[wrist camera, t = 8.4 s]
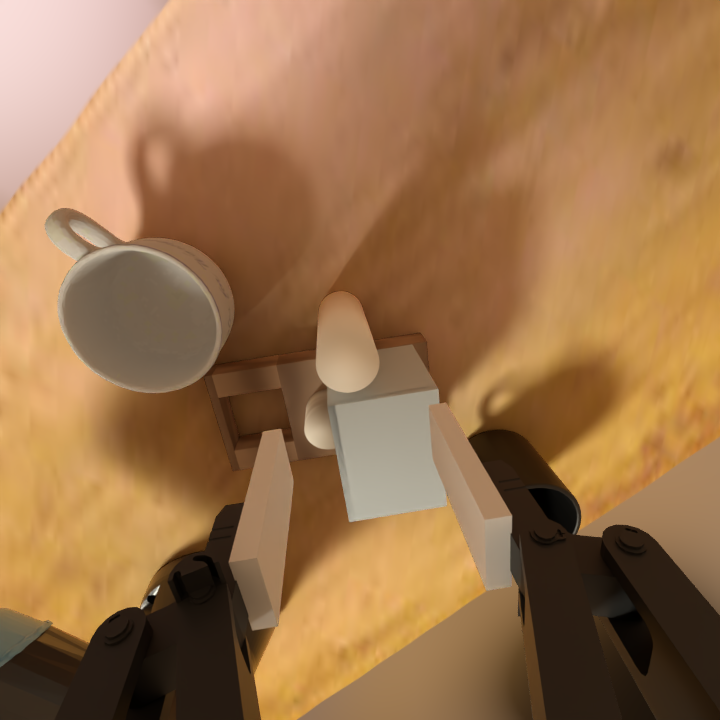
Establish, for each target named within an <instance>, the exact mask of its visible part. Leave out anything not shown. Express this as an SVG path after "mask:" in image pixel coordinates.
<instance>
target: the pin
mask: <svg viewBox="0 0 720 720" xmlns="http://www.w3.org/2000/svg"><path fill="white" fill-rule="evenodd" d="M379 363H380V362H379V355H378V352H377V349H376V346H375V343H374V340H373V337H372V334H371V331H370V328H369V325H368V323H367V320H366V317H365V314H364V311H363V308H362V305H361V303H360V301H359V300H358V299H357V297H355V296H354V295H353V294H351V293H349V292H345V291H337V292H333V293H331V294H329V295H327V296H326V297H325V298H324V299H323V300H322V302H321V304H320V306H319V311H318V329H317V348H316V370H317V373H318V376H319V378H320V379H321V381H322V382H323V383H324V384H325V385H326V386H328V387H329V388H331V389H333V390H335V391H338V392H344V393H350V392H356V391H359V390H361V389H363V388H365V387H367V386H368V385H369V384H370V383H371V382H372V381H373V380H374V378H375V377H376V375H377V373H378V370H379Z"/></svg>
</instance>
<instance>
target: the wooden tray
mask: <svg viewBox="0 0 720 720" xmlns="http://www.w3.org/2000/svg"><path fill="white" fill-rule="evenodd" d="M374 343H375V346H376V349H377V350H379V349H386V348H392V347H398V346H405V345H411V344H412V345H413V346H414V348H415V350H416V352H417V353H418V355H419V357H420V358H421V360H422V362H423V363H424V365H425V367H426V369H427V370H428V372H429V366H428V353H427V342H426V340H425V339H424V337H423V336H422V334H421V333H416V334H409V335H403V336H397V337H390V338H384V339H377V340H374ZM204 380H205V383H206V386H207V389H208V393H209V396H210V399H211V402H212V405H213V409H214V412H215V415H216V418H217V422H218V425H219V428H220V431H221V434H222V438H223V441H224V444H225V447H226V451H227V454H228V457H229V460H230V463H231V467H232V470H233V471H237V470H243V469H250V468H254V464H255V460H256V456H257V452H258V449H259V445H260V441H261V437H262V433H257V434H251V435H244V436H239V433H238V429H237V426H236V422H235V419H234V415H233V412H232V409H231V405H230V402H229V398H228V396H234V395H240V394H246V393H253V392H259V391H265V390H271V389H278V388H282V392H283V396H284V401H285V405H286V409H287V414H288V418H289V422H290V426H291V428H288V429H282V434H283V438H284V443H285V447H286V451H287V455H288V459H289V462H293V461H299V460H305V459H311V458H317V457H323V456H330V455H336V450H335V444H334V439H333V434H332V429H331V423H330V418H329V413H328V407H327V386H326V385H325V384H324V383H323V382H322V381H321V379H320V378H319V376H318V373H317V370H316V349H313V350H307V351H301V352H294V353H288V354H282V355H275V356H269V357H262V358H256V359H250V360H243V361H237V362H230V363H224V364H218V365H213V366H212V367H211V369H210V370H209V371H208V372H207V373H206V374H205V375H204Z"/></svg>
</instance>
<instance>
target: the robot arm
mask: <svg viewBox="0 0 720 720" xmlns="http://www.w3.org/2000/svg"><path fill="white" fill-rule="evenodd" d="M428 408H429V420H430V433H431V445H432V457H433V461H434V464H435V466H436V468H437V471H438V473H439V476H440V478H441V481H442V483H443V486H444V488H445V490H446V493H447V495H448V498H449V500H450V503H451V505H452V508H453V510H454V513H455V515H456V517H457V520H458V522H459V525H460V527H461V530H462V532H463V535H464V537H465V539H466V542H467V544H468V547H469V549H470V552H471V554H472V557H473V559H474V562H475V564H476V566H477V569H478V571H479V574H480V576H481V579H482V581H483V584H484V586H485V589H486V591H489V590H494V589H500V588H506V587H511V585H512V575H513V577H514V579H515V581H516V583H517V585H518V587H519V592H518V593H519V595H518V616H520V617H521V624H522V632H523V641H524V649H525V657H526V666H527V674H528V682H529V691H530V699H531V707H532V716H533V720H622V717H621V714H620V710H619V707H618V703H617V700H616V696H615V693H614V689H613V686H612V682H611V679H610V675H609V672H608V668H607V664H606V661H605V658H604V654H603V650H602V647H601V643H600V640H599V636H598V633H597V629H596V626H595V622H594V619H593V615H595V616H598V617H599V618H600V620H601V622H602V624H603V625H604V627H605V629H606V631H607V633H608V634H609V636H610V638H611V639H612V641H613V643H614V645H615V647H616V649H617V650H618V652H619V654H620V656H621V657H622V659H623V661H624V663H625V665H626V666H627V668H628V670H629V671H630V673H631V675H632V677H633V679H634V680H635V682H636V684H637V686H638V687H639V689H640V691H641V692H642V695H643V696H644V698H645V700H646V702H647V703H648V705H649V707H650V709H651V711H652V712H653V714H654V716H655V718H656V720H720V615H719V614H718V613H717V612H716V611H715V610H714V608H713V607H712V606H711V605H710V604H709V602H708V601H707V600H706V599H705V598H704V597H703V596H702V594H701V593H700V592H699V591H698V590H697V588H696V587H695V586H694V585H693V584H692V583H691V581H690V580H689V579H688V578H687V577H686V575H685V574H684V573H683V572H682V571H681V569H680V568H679V567H678V566H677V565H676V564H675V563H674V561H673V560H672V559H671V558H670V556H669V555H668V554H667V553H666V552H665V551H664V549H663V548H662V547H661V546H660V545H659V544H658V542H657V541H656V540H655V539H653V538H652V537H651V536H650V535H649V534H648V533H646V532H644V531H642V530H640V529H638V528H635V527H631V526H628V525H613V526H610V527H608V528H606V529H605V530H604V531H603V536H602V538H601V537H591V536H590V537H589V536H580V535H575V534H571V533H568V532H567V530H566V529H565V528H563V527H562V526H561V525H560V524H558V523H556V522H554V521H552V520H549V519H548V518H547V517H546V515H545V514H544V512H543V511H542V509H541V508H540V506H539V505H538V504H537V502H536V501H535V499H534V498H533V496H532V495H531V493H530V492H529V490H528V489H527V488H526V486H525V485H524V483H523V482H522V480H520V477H519V476H518V475H517V473H516V472H515V470H514V469H513V467H511V466H510V465H508V464H507V463H505V462H504V461H502V460H496V461H490V462H484V463H481V461H480V460H479V458H478V456H477V455H476V453H475V451H474V449H473V448H472V446H471V444H470V443H469V441H468V439H467V437H466V436H465V434H464V432H463V431H462V429H461V427H460V425H459V424H458V422H457V420H456V419H455V417H454V415H453V413H452V412H451V410H450V408H449V407H448V405H447V403H446V402H445V403H439V404H433V405H428ZM293 486H294V480H293V476H292V471H291V467H290V463H289V459H288V455H287V451H286V447H285V443H284V438H283V434H282V430H281V429H276V430H270V431H263V433H262V437H261V441H260V445H259V449H258V452H257V456H256V460H255V464H254V468H253V471H252V475H251V479H250V483H249V487H248V491H247V494H246V498H245V502H244V503H238V504H232V505H226V506H225V507H224V508H223V509H222V511H221V512H220V513H219V514H218V515H217V517H216V519H215V522H214V525H213V528H212V532H211V534H210V537H209V542H208V543H207V546H206V549H205V551H201V552H198V553H194V554H191V555H187V556H184V557H181V558H178V559H176V560H174V561H172V562H170V563H168V564H167V565H165V566H164V567H163V568H161V569H160V570H159V571H158V572H157V573H156V574H155V576H154V577H153V578H152V580H151V582H150V584H149V586H148V588H147V590H146V593H145V595H144V597H143V600H142V603H141V606H140V608H138V607H131V608H126V609H123V610H121V611H118V612H116V613H115V614H113V615H112V616H110V617H109V618H107V619H106V620H105V621H104V622H103V623H102V624H101V625H100V626H99V627H98V629H97V630H96V632H95V633H94V635H93V637H92V638H91V641H90V643H88V642H85V641H83V640H81V639H79V638H77V637H75V636H73V635H70V634H68V633H66V632H64V631H62V630H60V629H58V628H55V627H53V626H51V625H52V624H53V623H52V622H51V621H48V620H47V621H44V622H42V621H40V620H37V619H34V618H32V617H29V616H26V615H24V614H21V613H19V612H16V611H13V610H11V609H7V608H0V720H261V717H260V711H259V704H258V698H257V692H256V686H255V680H254V673H255V671H256V669H257V666H258V664H259V662H260V660H261V658H262V656H263V653H264V651H265V649H266V647H267V645H268V643H269V640H270V638H271V636H272V634H273V632H274V629H275V627H277V626H278V624H279V614H280V605H281V596H282V587H283V578H284V568H285V559H286V550H287V541H288V532H289V522H290V513H291V504H292V495H293Z"/></svg>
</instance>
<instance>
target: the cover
mask: <svg viewBox="0 0 720 720" xmlns="http://www.w3.org/2000/svg"><path fill="white" fill-rule="evenodd" d="M377 352H378V355H379V362H380V363H379V370H378V373H377V375H376V377H375V378H374V380H373V381H372V382H371V383H370V384H369V385H368V386H367V387H365V388H363V389H361V390H359V391H356V392H350V393H344V392H338V391H335V390H333V389H331V388H329V387H328V386H327V407H328V413H329V418H330V423H331V429H332V434H333V439H334V444H335V450H336V455H337V460H338V465H339V471H340V476H341V481H342V487H343V492H344V497H345V502H346V508H347V513H348V518H349V522H354V521H360V520H366V519H372V518H378V517H384V516H390V515H396V514H402V513H408V512H414V511H420V510H426V509H432V508H438V507H444V506H447V501H446V490H445V488H444V486H443V483H442V481H441V478H440V476H439V473H438V471H437V468H436V466H435V464H434V461H433V457H432V445H431V433H430V420H429V408H428V405H433V404H439V389H438V387H437V386H436V384H435V382H434V380H433V379H432V377H431V375H430V374H429V372H428V370H427V369H426V367H425V365H424V363H423V362H422V360H421V358H420V357H419V355H418V353H417V352H416V350H415V348H414V346H413V345H412V344H411V345H405V346H398V347H392V348H386V349H379V350H377Z"/></svg>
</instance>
